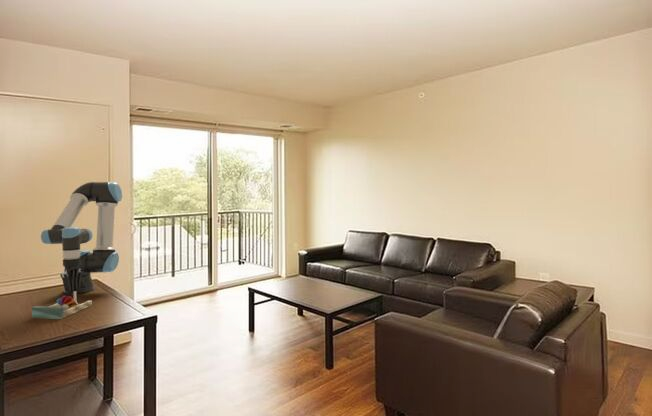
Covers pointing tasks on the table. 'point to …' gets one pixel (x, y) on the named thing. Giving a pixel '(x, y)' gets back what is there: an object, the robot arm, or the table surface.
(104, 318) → the table surface
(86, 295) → the table surface
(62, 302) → the rainbow disc toy
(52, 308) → the channel
